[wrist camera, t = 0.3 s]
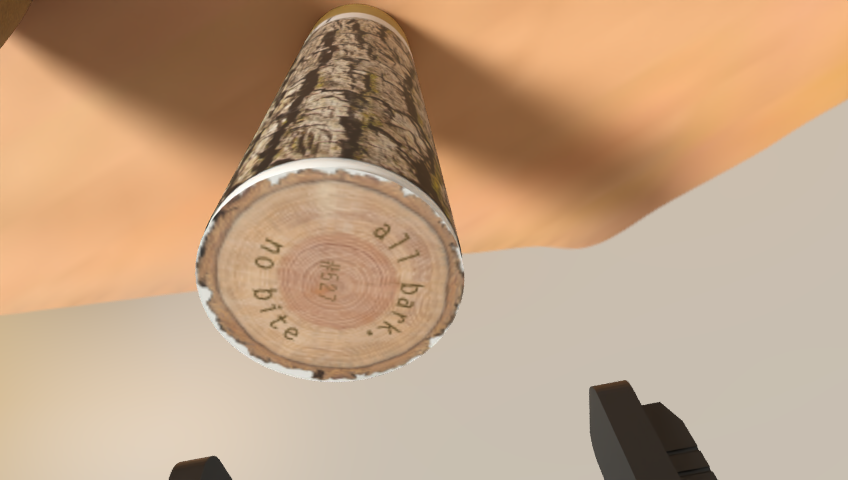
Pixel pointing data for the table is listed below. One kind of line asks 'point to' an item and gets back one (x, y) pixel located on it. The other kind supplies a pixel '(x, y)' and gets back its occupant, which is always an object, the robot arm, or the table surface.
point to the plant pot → (11, 16)
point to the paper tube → (337, 215)
